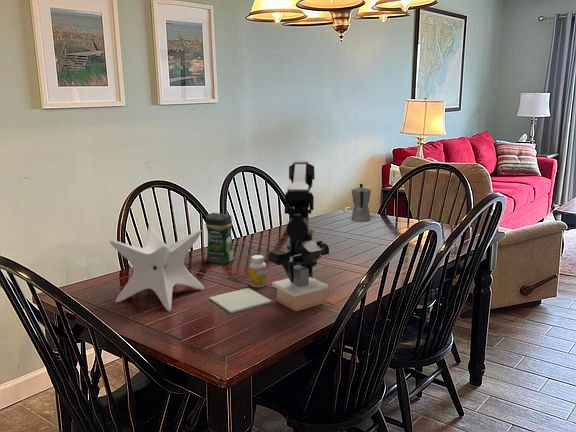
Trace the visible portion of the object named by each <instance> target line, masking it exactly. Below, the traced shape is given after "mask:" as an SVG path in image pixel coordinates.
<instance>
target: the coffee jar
mask: <svg viewBox="0 0 576 432" xmlns="http://www.w3.org/2000/svg"><path fill="white" fill-rule="evenodd" d="M205 226H206V230H207V250H206V251H207V259H206V260H207V262H210V263H214V264H220V265H222V264H223V265H224V264H229V263H231V262H233V260H234V249H233V241H232V226H233V220H232V215H230V214H226V213H218V212H217V213H216V212H210V213H209V214H207V215H206V217H205Z"/></svg>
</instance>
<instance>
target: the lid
mask: <svg viewBox="0 0 576 432" xmlns="http://www.w3.org/2000/svg"><path fill="white" fill-rule="evenodd" d="M271 285H272V286H273V287H275V288H276V289H277V288H278V289H280V290H282V291H284V292H286V293H288V294H290V295H292V296H294V297H296V296H300V295H304V294H308V293H311V292H315V291H319V290H322V289H323V290H325V289H328V288H329V284H327V283H324V282H322V281H320V280H318V279H315V278H314V277H313V278H311V277H309V269H308V268H305V267H303V266H301V265H295V266H294V282H293V283H292V282H290V280H289V278H284V279H281V280H275V281H273V282H271Z"/></svg>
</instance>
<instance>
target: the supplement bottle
mask: <svg viewBox="0 0 576 432" xmlns="http://www.w3.org/2000/svg"><path fill="white" fill-rule="evenodd" d="M264 259H265V256H264V255H261V254H254V255H252V256H251V263H249V279H250V280H249V282H250V283H249V284H250V286H251V287H254V288H263V287H265V286H267V264H266V262H264Z"/></svg>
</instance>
